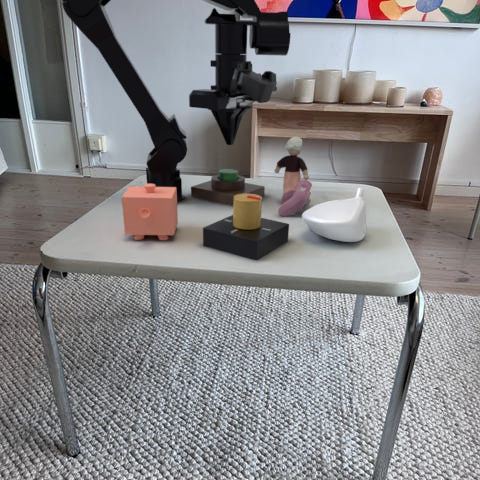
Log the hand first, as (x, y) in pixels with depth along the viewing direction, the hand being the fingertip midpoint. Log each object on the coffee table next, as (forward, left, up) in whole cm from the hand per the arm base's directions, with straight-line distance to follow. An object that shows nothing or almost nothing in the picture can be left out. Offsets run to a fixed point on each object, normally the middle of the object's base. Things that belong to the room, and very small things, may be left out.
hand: (229, 144), depth 94 cm
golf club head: (+27, -8, -11) cm, 30 cm away
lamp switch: (-1, +1, -7) cm, 7 cm away
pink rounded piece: (+15, +1, -11) cm, 18 cm away
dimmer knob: (+17, -20, -8) cm, 27 cm away
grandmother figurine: (+11, +5, -11) cm, 17 cm away
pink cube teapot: (+2, -26, -11) cm, 28 cm away
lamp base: (-1, +1, -11) cm, 11 cm away
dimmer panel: (+17, -20, -11) cm, 28 cm away
